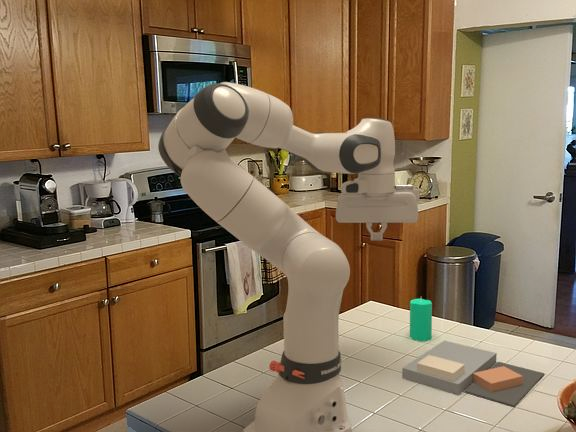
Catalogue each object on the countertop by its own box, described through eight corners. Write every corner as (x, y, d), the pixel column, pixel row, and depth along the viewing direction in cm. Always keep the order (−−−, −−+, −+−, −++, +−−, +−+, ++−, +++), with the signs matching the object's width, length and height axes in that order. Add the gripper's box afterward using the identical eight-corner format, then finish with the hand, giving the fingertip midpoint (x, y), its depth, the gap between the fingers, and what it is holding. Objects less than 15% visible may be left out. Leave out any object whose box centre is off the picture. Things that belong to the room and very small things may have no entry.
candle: (426, 343, 156) (426, 300, 155) (406, 338, 160) (406, 297, 158) (435, 336, 161) (435, 295, 159) (415, 332, 165) (415, 292, 163)
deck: (458, 394, 126) (458, 384, 126) (402, 377, 135) (402, 367, 135) (496, 362, 143) (496, 353, 142) (444, 349, 152) (444, 340, 151)
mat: (514, 407, 120) (514, 405, 120) (464, 392, 127) (464, 390, 127) (544, 374, 135) (544, 373, 135) (498, 363, 142) (498, 361, 142)
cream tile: (464, 372, 132) (464, 364, 131) (453, 381, 127) (453, 373, 127) (428, 362, 138) (428, 354, 137) (416, 371, 133) (416, 363, 133)
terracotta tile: (491, 392, 126) (491, 383, 126) (472, 381, 132) (473, 373, 132) (522, 384, 130) (522, 376, 129) (503, 374, 135) (503, 366, 135)
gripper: (418, 183, 142) (418, 237, 144) (336, 183, 144) (336, 237, 147) (421, 185, 135) (420, 242, 138) (334, 186, 138) (335, 242, 140)
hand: (376, 240), depth 142 cm, fingers closed
